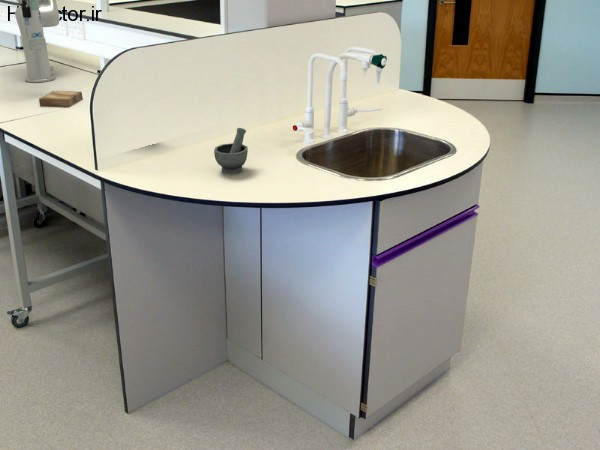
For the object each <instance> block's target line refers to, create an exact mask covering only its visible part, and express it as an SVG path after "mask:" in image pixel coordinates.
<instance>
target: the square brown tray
mask: <svg viewBox="0 0 600 450" xmlns="http://www.w3.org/2000/svg"><path fill="white" fill-rule="evenodd" d="M83 99H84V98H83V93H82V91H73V90H70V91H68V90H65V91H64V90H52V91H50V92H49V93H47V94H45V95H43V96H41V97H39V98H38V103H39V106H40V107H42V108H43V107H44V108H46V107H47V108H49V107H50V108H71V107H72V106H74V105H76V104H77V103H79V102H80V101H82V100H83Z"/></svg>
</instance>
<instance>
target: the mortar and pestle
mask: <svg viewBox="0 0 600 450" xmlns="http://www.w3.org/2000/svg"><path fill="white" fill-rule="evenodd" d="M246 133H247V130H246V129H245V128H242V127H237V128H236V134H235V137H234V140H233V142H231V143H224V144H223V143H222V144H220V145H217V146H215V148H214V152H213V154H214V159H215V161H216V163H217V164H218V165H219V166H220V167H221V173H222V174H224V175H228V176H229V175H230V176H231V175H239V174H241V173H243V166H244V165H245V163H246V161H247V159H248V152H249V151H248V150H249V149H248V146H247V145H245V144H243V142H244V138H245V134H246Z"/></svg>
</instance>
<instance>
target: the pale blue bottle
mask: <svg viewBox="0 0 600 450" xmlns="http://www.w3.org/2000/svg"><path fill="white" fill-rule="evenodd" d="M24 1H25V3H26V0H24ZM28 7H30V11H31V18H24V23H25V28H26V34H27V39H28V45H29V49H30V50H42V49H45V48H46V47H47V45H46V46H45V41H46V38H45V39H44V37H45V33H44V27H43V26H42V20H41V14H40V7H39V1H38V0H29V6H28Z"/></svg>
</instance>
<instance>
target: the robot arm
mask: <svg viewBox="0 0 600 450" xmlns="http://www.w3.org/2000/svg"><path fill="white" fill-rule="evenodd" d="M38 1H39V7H40V14H41V20H42V26H43V28H52V27H57V26H58V25H59V24H60V14H59V8H58V4H57V0H38ZM16 2H17V3H18V4H19V5H20V6H18V7H16V9H15V11H14V16H15V20H16V23H17V26H18V29H19V33H20V38H21V44H22V48H23V53H24V54H23V55H24V58H25V65H26V70H27V75H26V77H24V81H26V82H28V83H45V82H51V81H52V80H55V79H56V75H55V74H53V73H52V71H54V70H55V68H54V66H52V65H51V64H50V60H49V54H48V48H47V43H46V42H47V41H46V37H45V36H44V39H45V46H46V48H45V49H42V50H30V49H29V45H28V39H27V34H26V28H25V23H24V18H31V11H30V7H28V6H29V0H26V3H25V1H24V0H16Z"/></svg>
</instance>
